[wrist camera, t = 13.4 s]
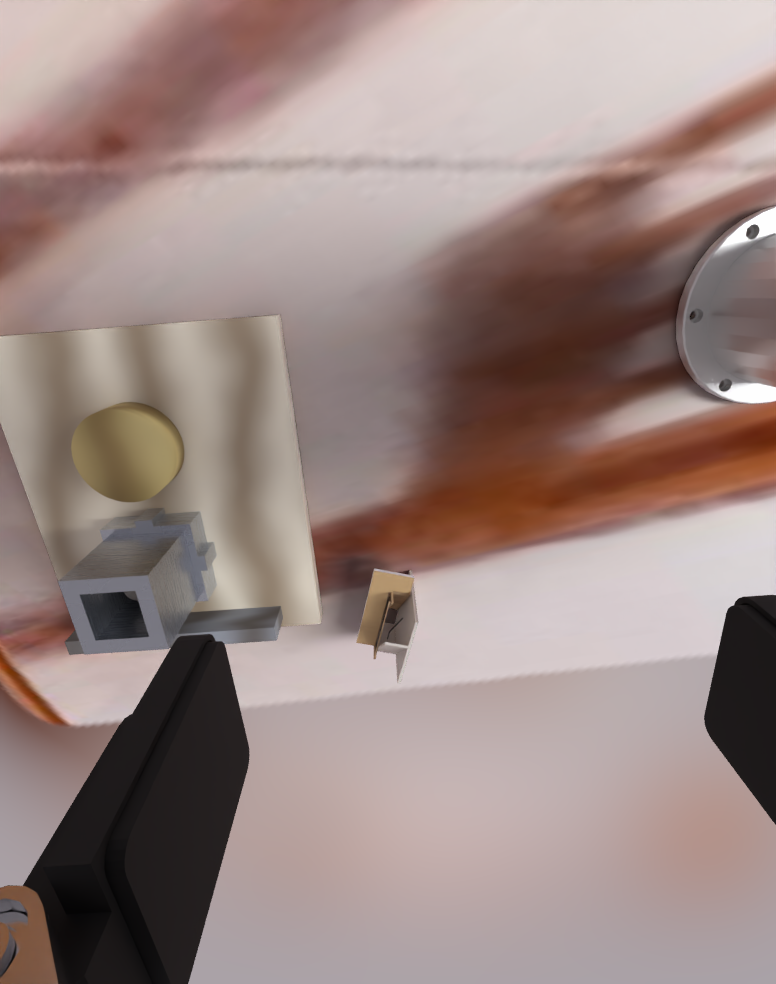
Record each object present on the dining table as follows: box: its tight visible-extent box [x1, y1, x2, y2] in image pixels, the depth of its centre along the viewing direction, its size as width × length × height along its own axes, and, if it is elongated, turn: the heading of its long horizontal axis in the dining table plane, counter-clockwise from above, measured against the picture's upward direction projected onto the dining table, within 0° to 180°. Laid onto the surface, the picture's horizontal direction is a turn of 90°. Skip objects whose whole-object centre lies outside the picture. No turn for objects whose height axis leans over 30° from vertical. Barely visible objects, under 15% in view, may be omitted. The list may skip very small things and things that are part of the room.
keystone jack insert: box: [58, 508, 217, 654], centre depth 35 cm, size 7×7×8 cm
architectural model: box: [357, 568, 418, 683], centre depth 39 cm, size 3×7×7 cm, turn 167°
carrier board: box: [0, 315, 323, 655], centre depth 35 cm, size 20×24×6 cm
